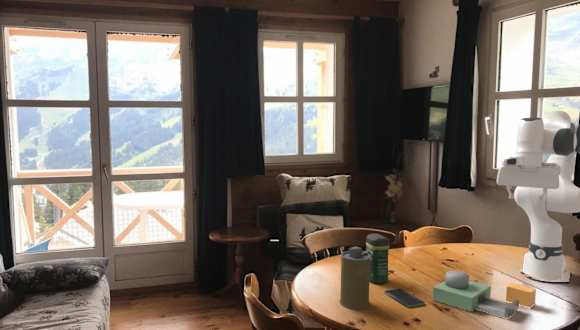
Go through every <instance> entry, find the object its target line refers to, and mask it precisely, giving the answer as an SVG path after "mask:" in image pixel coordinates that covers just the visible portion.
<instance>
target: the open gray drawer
mask: <svg viewBox="0 0 580 330" xmlns="http://www.w3.org/2000/svg"><path fill="white" fill-rule="evenodd" d="M519 307H520V306H519V300H517V299H516V300H515V301H513V302H512V303H508V302H506V301H505V300H500V299H497V298H493V297H491V296H490V297H485V301H484V302H483V303H481V304H480V303H476V304H475V309H478V310H481V311H485V312H488V313H491V314H494V315H497V316H500V317H504V318H507V319H508V318H509V317H510V316H512V315H513V314H514V313H515V312H516V311H517V310H518V309H519ZM519 310H520V309H519ZM515 314H516V313H515ZM515 314H514V315H515ZM514 315H513V316H514ZM497 316H496V317H497ZM513 316H512V317H513ZM500 317H499V318H500ZM510 318H511V317H510ZM510 318H509V319H510ZM507 319H506V320H507ZM509 319H508V320H509Z"/></svg>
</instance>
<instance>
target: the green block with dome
mask: <svg viewBox="0 0 580 330" xmlns="http://www.w3.org/2000/svg"><path fill="white" fill-rule="evenodd" d="M432 288H433V289H432V301H433V300H434V301H433V302H436V301H438V302H437V303H439V302H441V303H440V304H442V303H445V304H444V305H446V304H448V305H447V306H449V305H451V306H450V307H452V306H455V307H459V308H462V309H465V310H469V311H472V310H474V309H475V304H476V303H480V304H481V303H483V302H484V301H485V297H490V298H491V289H492V287H491V285H489V284H484V283H481V282H476V281H472V280H470V275H469V274H468V273H467V272H465V271H459V270H448V271H446V272H445V279H444V281H443V282H440V283H438V284H437V285H434V286H432ZM455 307H454V308H455ZM462 309H461V310H462ZM465 310H464V311H465ZM474 311H475V310H474ZM472 312H473V311H472Z"/></svg>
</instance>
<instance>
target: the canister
mask: <svg viewBox="0 0 580 330" xmlns="http://www.w3.org/2000/svg"><path fill="white" fill-rule="evenodd" d="M370 258H371V255H370V254H369V252H367V250H366V251H365V250H363V248H362V247H359V246H357V245H356V246H353V247H349V248H348V251H343V252H341V253H340V259H341V260H340V299H339V304H340V305H341V306H343V308H346V309H353V310H360V309H361V310H362V309H363V310H364V309H366V308H368V307H369V306H370V281H369V280H370Z"/></svg>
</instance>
